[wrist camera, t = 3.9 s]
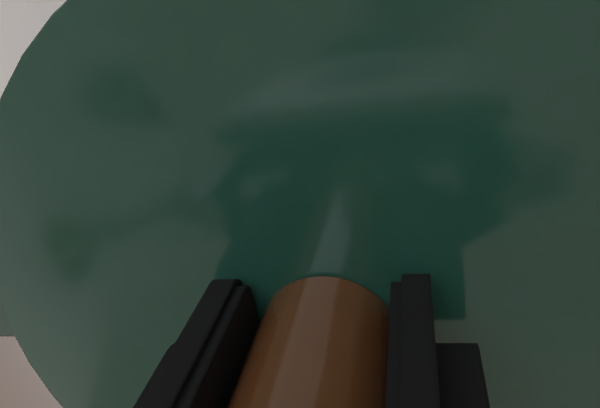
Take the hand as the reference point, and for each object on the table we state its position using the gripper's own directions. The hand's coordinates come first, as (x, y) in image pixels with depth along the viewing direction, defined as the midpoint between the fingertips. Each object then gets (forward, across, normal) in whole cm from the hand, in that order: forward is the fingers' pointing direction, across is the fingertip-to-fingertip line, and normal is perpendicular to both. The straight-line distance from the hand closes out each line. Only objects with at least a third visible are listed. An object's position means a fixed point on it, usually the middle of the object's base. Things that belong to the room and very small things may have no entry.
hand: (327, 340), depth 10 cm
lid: (+1, 0, 0) cm, 1 cm away
